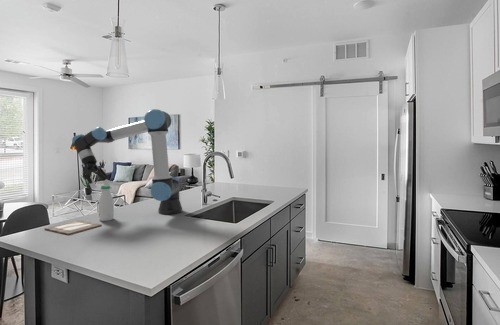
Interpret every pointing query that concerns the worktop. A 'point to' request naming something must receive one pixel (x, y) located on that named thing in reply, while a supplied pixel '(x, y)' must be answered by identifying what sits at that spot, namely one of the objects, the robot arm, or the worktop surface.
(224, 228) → the worktop surface
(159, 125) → the robot arm
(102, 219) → the milk bottle
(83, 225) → the writing board
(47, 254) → the worktop surface
